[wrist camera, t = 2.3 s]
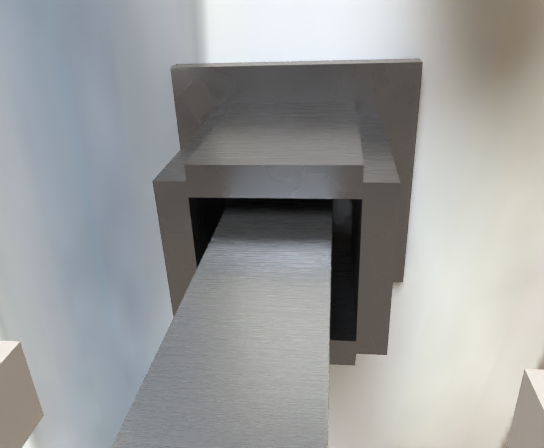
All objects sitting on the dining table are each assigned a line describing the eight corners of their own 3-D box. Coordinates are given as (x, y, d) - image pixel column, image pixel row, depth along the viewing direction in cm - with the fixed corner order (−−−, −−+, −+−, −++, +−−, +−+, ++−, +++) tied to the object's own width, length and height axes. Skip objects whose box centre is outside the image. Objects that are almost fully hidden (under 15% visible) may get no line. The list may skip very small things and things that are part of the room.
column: (259, 227, 28) (39, 940, 7) (254, 147, 26) (-68, 823, 5) (332, 229, 27) (316, 997, 7) (333, 147, 25) (316, 890, 5)
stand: (200, 267, 31) (127, 423, 20) (176, 64, 26) (59, 129, 15) (401, 273, 29) (437, 444, 19) (419, 58, 24) (484, 126, 13)
